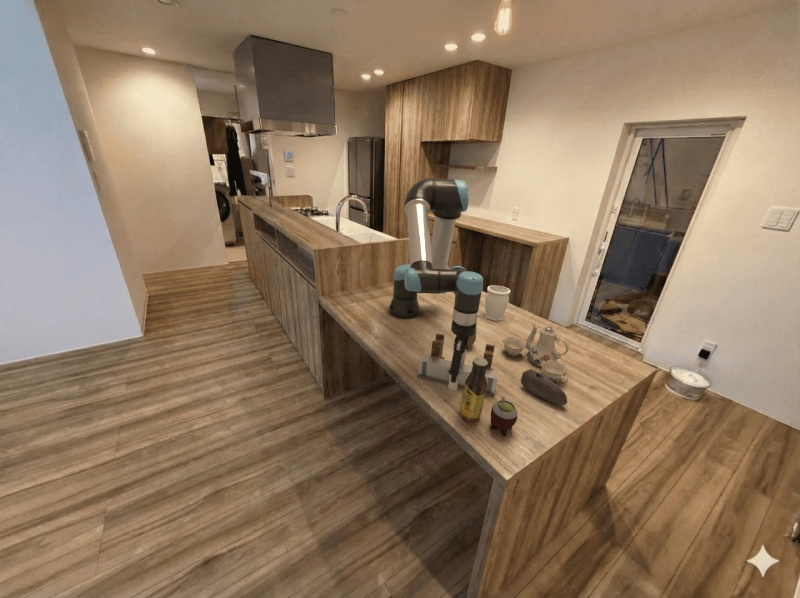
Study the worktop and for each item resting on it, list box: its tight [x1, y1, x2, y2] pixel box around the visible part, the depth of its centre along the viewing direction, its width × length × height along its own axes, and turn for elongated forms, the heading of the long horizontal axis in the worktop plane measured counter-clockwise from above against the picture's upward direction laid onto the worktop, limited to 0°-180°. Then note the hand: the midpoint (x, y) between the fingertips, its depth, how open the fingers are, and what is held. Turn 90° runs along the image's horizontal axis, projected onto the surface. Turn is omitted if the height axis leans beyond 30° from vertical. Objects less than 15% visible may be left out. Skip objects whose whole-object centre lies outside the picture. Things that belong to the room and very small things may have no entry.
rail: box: [417, 354, 499, 395], centre depth 109 cm, size 26×4×6 cm, turn 70°
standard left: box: [430, 332, 446, 360], centre depth 117 cm, size 5×7×11 cm
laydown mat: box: [416, 374, 495, 398], centre depth 110 cm, size 26×6×1 cm, turn 70°
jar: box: [484, 284, 511, 322], centre depth 154 cm, size 11×10×15 cm
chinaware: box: [502, 323, 570, 384], centre depth 119 cm, size 28×17×17 cm, turn 36°
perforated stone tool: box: [520, 369, 568, 406], centre depth 104 cm, size 15×5×7 cm, turn 38°
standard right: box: [482, 343, 496, 371], centre depth 112 cm, size 5×7×11 cm
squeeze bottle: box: [467, 322, 478, 349], centre depth 128 cm, size 8×8×18 cm
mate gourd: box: [489, 395, 518, 438], centre depth 89 cm, size 8×8×15 cm
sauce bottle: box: [459, 356, 488, 422], centre depth 92 cm, size 7×6×20 cm
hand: (456, 376), depth 109 cm, fingers open, 13 cm apart
